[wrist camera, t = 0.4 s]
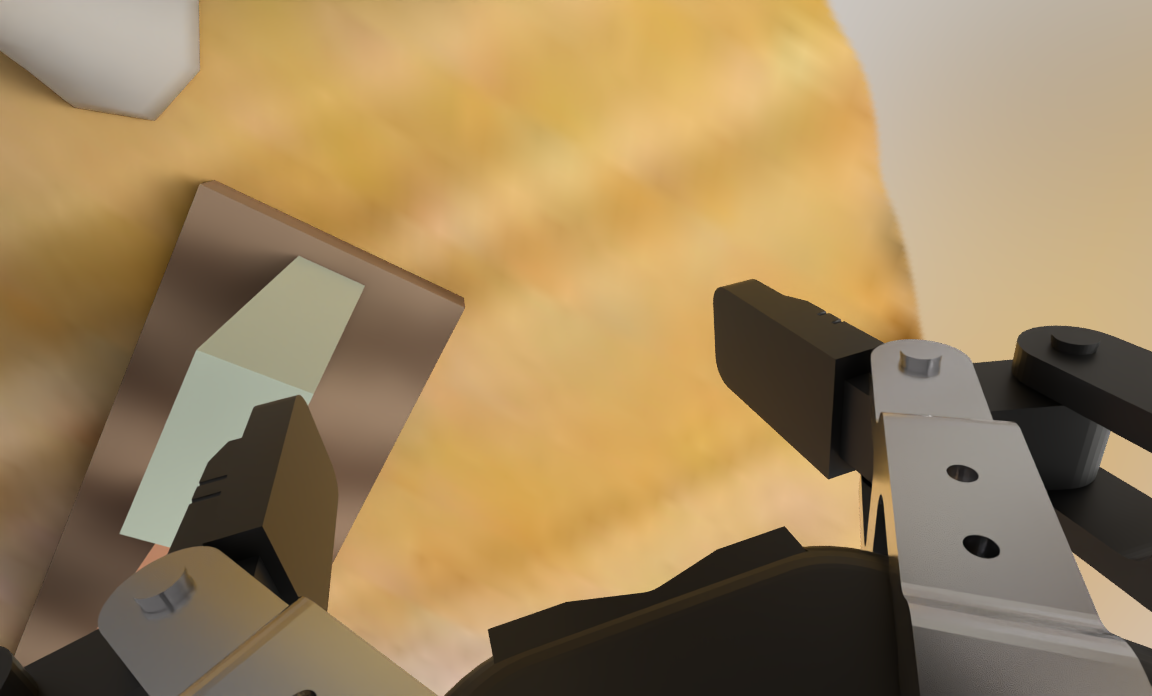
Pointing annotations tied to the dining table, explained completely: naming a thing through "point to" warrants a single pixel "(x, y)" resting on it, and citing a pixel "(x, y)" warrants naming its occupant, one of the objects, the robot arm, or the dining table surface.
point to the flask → (106, 50)
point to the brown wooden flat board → (162, 358)
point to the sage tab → (241, 385)
